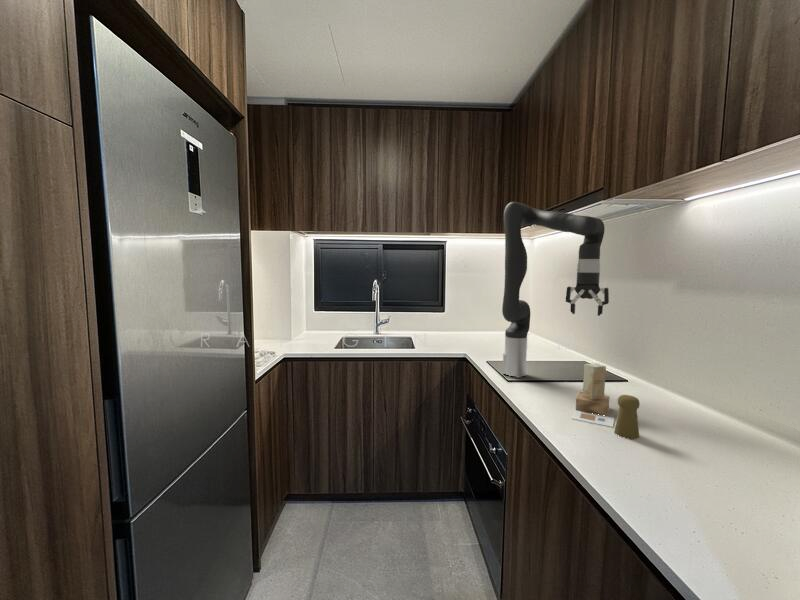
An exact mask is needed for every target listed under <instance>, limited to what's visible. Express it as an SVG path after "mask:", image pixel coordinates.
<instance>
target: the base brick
mask: <svg viewBox="0 0 800 600" xmlns="http://www.w3.org/2000/svg"><path fill="white" fill-rule="evenodd" d="M575 400H576V401H575V410H577V411H582V412H587V413H593V414H599V415H605V416H608V414H609V410H610V395H607V394H606V395H605V394H604V399H595V400H592V399H589V398H587V397H585V396H583V390H582V391H581V390H579V392H578V394H577V395H576V399H575ZM608 409H609V410H608Z"/></svg>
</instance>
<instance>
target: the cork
mask: <svg viewBox="0 0 800 600" xmlns="http://www.w3.org/2000/svg"><path fill="white" fill-rule="evenodd" d="M617 405H618V406H619V408H618V413H617V418H616V422H615V426H614V432H613V433H614V434H615V435H616V434H617V436H618V435H619V436H618V437H620V436H621V438H623V437H625V438H624V439H627V438H629V439H628V440H638V439H640V430H639V420H638V418H639V417H638V409H640V405H641V404H640V400H639V399H638V397H635V396H633V395H629V394H622V395H619V396H618V397H617Z"/></svg>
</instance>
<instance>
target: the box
mask: <svg viewBox="0 0 800 600" xmlns="http://www.w3.org/2000/svg"><path fill="white" fill-rule="evenodd" d="M583 367H584V368H583V381H582V382H583V384H582V392H583V396H585V397H587V398H589V399H592V400H595V399H604V395H605V388H606V387H605V386H606V371H607V370H606V369H607V366H606V365H604V364H600V363H597V362H592V363H585V364H584V365H583Z"/></svg>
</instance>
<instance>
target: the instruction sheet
mask: <svg viewBox="0 0 800 600" xmlns="http://www.w3.org/2000/svg"><path fill="white" fill-rule="evenodd" d="M571 420H575V421H580V422H584V423H589V424H594V425H599V426H603V427H610V428H614V425H615V424H614V423H615V417H613V416H608V415H607V416H603V415H598V414H592V413H587V412H582V411H577V410H576V409H575V411H574V412H573V415H572V417H571Z"/></svg>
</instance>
